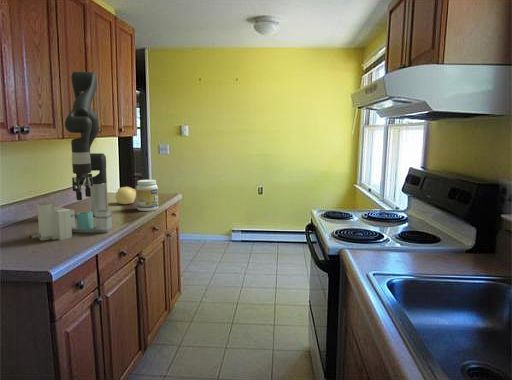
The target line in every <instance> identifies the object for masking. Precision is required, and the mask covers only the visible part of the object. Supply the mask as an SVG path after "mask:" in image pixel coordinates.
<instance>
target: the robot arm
mask: <svg viewBox="0 0 512 380" xmlns="http://www.w3.org/2000/svg"><path fill="white" fill-rule="evenodd" d="M70 78H71V85H72V90H73V95H74V101H73V105H72V108H71V109H72V110H71V111H70V112H69V113H68V115H67V117H66V119H65V122H64V127H65V130H66V131H67V132H69V133H71V134H76V133H77V134H80V136H79V137H77V138H73V139H72V140H71V141H70V142H71V144H70V145H71V165H72V166H71V167H72V173H73V174H75V176H74V177H72V178H71V179H72V181H71V182H72V186H71V187H72V191H73V192H75V197H76V198H75V199H76V201H82V200H83V193H82V192H83V188H85V189H84V192H85V193H84V194H85V197H86V198H89V199H88V201H89V211H90V212H93V217H95V216H96V215H95V212H97V211H99V210H109V202H108V201H109V198H108V197H109V196H108V183H107V156H106V155H105V153H102V152H101V153H99V152H98V153H97V152H95V153H93V152H92V153H91V147H92V144H93V142H94V140H95V139H96V137H97V136H98V134H99V131H100V125H99V119H98V116H97V114H96V112H95V111H94V110H93V108H92V107H91V104H92V101H93V100H94V97H95V95H96V92H97V89H98V79H97V75H96V73H95V72H91V71H73V72H71V77H70ZM93 171H95V172H98V174H96V175H94V176H93V173H92V172H93Z"/></svg>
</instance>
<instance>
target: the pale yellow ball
mask: <svg viewBox="0 0 512 380" xmlns="http://www.w3.org/2000/svg"><path fill="white" fill-rule="evenodd" d="M115 200H116V202H117V204H120V205H128V204H133V203H134V202H135V200H136V188H132V187H130V186H123V187H122V186H121V187H120V188H118V189H117V191H116V193H115Z"/></svg>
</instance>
